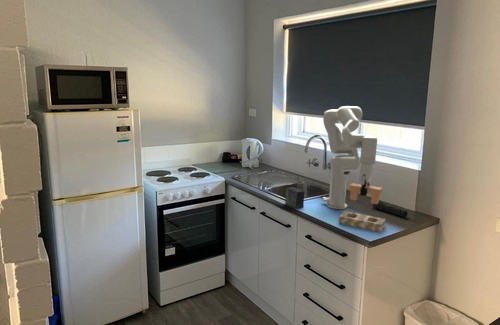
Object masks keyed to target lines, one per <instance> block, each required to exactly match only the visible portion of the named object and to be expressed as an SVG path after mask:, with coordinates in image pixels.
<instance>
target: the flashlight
mask: <svg viewBox="0 0 500 325" xmlns="http://www.w3.org/2000/svg"><path fill="white" fill-rule="evenodd" d="M372 208H373V209H376V210H377V211H384V212H388V213H391V214H393V215H396V216H400V217H403V218H405V219H406V218H407V216H408V215H409V214H408V211H407V209H402V208H400V207H396V206H394V205H390V204H389V205H388V204H387V203H385V202H383V201H379V202H378V204H373V203H372Z"/></svg>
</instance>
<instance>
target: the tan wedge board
mask: <svg viewBox="0 0 500 325" xmlns="http://www.w3.org/2000/svg"><path fill="white" fill-rule="evenodd" d="M360 190H361V184H359V183H354V182H351V183H350V184H349V185H348V191H349V192H350V194H349V200H351V201H357V200H358V196H359V193H360ZM382 192H383V187H380V186H379V187H378V186H375V185H370V186H368V185H367V194H369V195H371V200H370V203H371V204H372V205H373V204H378V202H379V200H380V196H381V195H382Z"/></svg>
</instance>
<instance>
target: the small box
mask: <svg viewBox="0 0 500 325" xmlns="http://www.w3.org/2000/svg"><path fill="white" fill-rule="evenodd" d="M284 202H285V205H286V206H288V207H291V208H293V209H301V207H302V208H304V204H305V190H302V189H300V188H297V187H294V186H291V187H286V188H285V201H284Z"/></svg>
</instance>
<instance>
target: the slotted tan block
mask: <svg viewBox="0 0 500 325" xmlns="http://www.w3.org/2000/svg"><path fill="white" fill-rule="evenodd" d="M339 223H341V224H340V225H344V226H349V225H350V226H349V227H353V226H354V228H359V229H360V228H361V229H363V230H369V231H372V232H373V231H375V232H378V233H382V231H383V229H384V228H385V226H386V218H382V217H376V216H372V215H366V214H361V213H357V212H356V213H355V212H351V211H350V212H349V211H343V212H342V213H341V214H340V215H339V216H338V224H339Z"/></svg>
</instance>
